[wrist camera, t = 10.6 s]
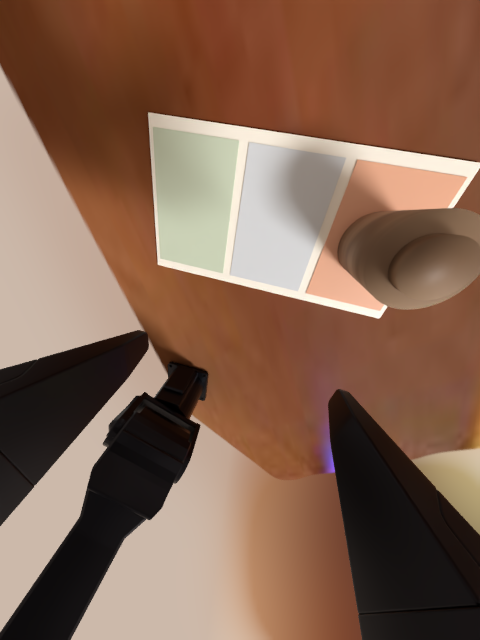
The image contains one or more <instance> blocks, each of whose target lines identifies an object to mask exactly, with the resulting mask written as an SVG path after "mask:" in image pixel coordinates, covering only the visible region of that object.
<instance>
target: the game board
mask: <svg viewBox="0 0 480 640" xmlns="http://www.w3.org/2000/svg"><path fill="white" fill-rule="evenodd" d="M148 120H149V135H150V151H151V166H152V181H153V197H154V212H155V227H156V243H157V258H158V265H161V266H165V267H169V268H173V269H177V270H181V271H186V272H190V273H194V274H198V275H202V276H206V277H210V278H214V279H218V280H223V281H227V282H231V283H235V284H239V285H243V286H247V287H251V288H256V289H260V290H264V291H268V292H272V293H276V294H280V295H284V296H288V297H293V298H297V299H301V300H305V301H309V302H313V303H317V304H321V305H325V306H330V307H334V308H338V309H342V310H346V311H350V312H354V313H358V314H363V315H367V316H371V317H375V318H380V317H381V315H382V314H383V312H384V311H385V309H386V308H387V306H386V305H384V304H382V303H380V302H379V301H378V300H377V299H375V298H374V297H373V296H372V295H371V294H370V293H369V292H368V291H367V290H366V289H365V288H364V287H363V286H362V285H361V284H360V283H359V282H357V281H356V280H355V279H354V278H353V277H352V276H351V275H350V274H349V273H348V272H347V271H346V270H345V269H344V268H343V267H342V266H341V264H340V262H339V260H338V253H337V251H338V245H339V242H340V239H341V237H342V235H343V234H344V232H345V231H346V230H347V228H348V227H349V226H350V225H351V224H352V223H354V222H355V221H356V220H358V219H359V218H361V217H363V216H365V215H367V214H370V213H373V212H379V211H400V210H420V209H441V208H453V207H454V206H455V204H456V203H457V201H458V200H459V198H460V197H461V195H462V194H463V192H464V191H465V189H466V188H467V186H468V185H469V183H470V182H471V180H472V179H473V177H474V176H475V174H476V173H477V171H478V170H479V168H480V163H478V162H471V161H465V160H458V159H451V158H445V157H438V156H432V155H425V154H419V153H412V152H405V151H399V150H392V149H386V148H379V147H373V146H366V145H359V144H353V143H346V142H340V141H333V140H327V139H320V138H313V137H307V136H300V135H294V134H287V133H281V132H274V131H267V130H261V129H254V128H248V127H241V126H235V125H228V124H221V123H215V122H208V121H202V120H195V119H189V118H182V117H175V116H169V115H162V114H156V113H149V112H148Z"/></svg>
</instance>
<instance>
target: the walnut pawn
mask: <svg viewBox="0 0 480 640" xmlns="http://www.w3.org/2000/svg"><path fill="white" fill-rule="evenodd" d="M337 253H338V260H339V262H340V264H341V266H342V267H343V268H344V269H345V270H346V271H347V272H348V273H349V274H350V275H351V276H352V277H353V278H354V279H355V280H356V281H357V282H359V283H360V284H361V285H362V286H363V287H364V288H365V289H366V290H367V291H368V292H369V293H370V294H371V295H372V296H373V297H374V298H375V299H377V300H378V301H379V302H380V303H382V304H384V305H386V306H389V307H392V308H396V309H405V310H406V309H420V308H425V307H429V306H432V305H435V304H438V303H440V302H443V301H445V300H447V299H449V298H451V297H453V296H454V295H456V294H458V293H459V292H460V291H462V290H463V289H465V288H466V287H467V286H468V285H469V284H471V283H472V282H473V281H474V280H475V279H476V278H477V276H478V275H479V274H480V215H479V214H477V213H474V212H472V211H469V210H466V209H459V208H441V209H420V210H400V211H379V212H373V213H370V214H367V215H365V216H363V217H361V218H359V219H358V220H356V221H355V222H354V223H352V224H351V225H350V226H349V227H348V228H347V230H346V231H345V232H344V234H343V235H342V237H341V239H340V242H339V245H338V251H337Z"/></svg>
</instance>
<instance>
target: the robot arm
mask: <svg viewBox="0 0 480 640" xmlns="http://www.w3.org/2000/svg"><path fill="white" fill-rule="evenodd" d="M148 347H149V342H148V334H147V333H146V332H144V331H140V330H137V331H134V332H130V333H127V334H123V335H120V336H116V337H113V338H109V339H106V340H102V341H99V342H95V343H92V344H89V345H85V346H81V347H78V348H74V349H71V350H67V351H64V352H61V353H57V354H53V355H50V356H46V357H43V358H39V359H38V360H32V361H29V362H25V363H22V364H19V365H15V366H12V367H7V368H4V369H0V526H1V525H2V524H3V522H4V521H5V520H6V519H7V518H8V517H9V515H10V514H11V513H12V512H13V511H14V510H15V508H16V507H17V506H18V505H19V504H20V503H21V501H22V500H23V499H24V498H25V497H26V496H27V495H28V493H29V492H30V491H31V490H32V489H33V488H34V485H36V484H37V483H38V481H39V480H40V479H41V478H42V477H43V476H44V475H45V473H46V472H47V471H48V470H49V469H50V468H51V466H52V465H53V464H54V463H55V462H56V461H57V459H58V458H59V457H60V456H61V455H62V454H63V453H64V451H65V450H66V449H67V448H68V447H69V445H70V444H71V443H72V442H73V441H74V440H75V439H76V438H77V436H78V435H79V434H80V433H81V432H82V430H83V429H84V428H85V427H86V426H87V425H88V424H89V422H90V421H91V420H92V419H93V418H94V417H95V415H96V414H97V413H98V412H99V411H100V410H101V409H102V407H103V406H104V405H105V404H106V403H107V402H108V400H109V399H110V398H111V397H112V396H113V395H114V393H115V392H116V391H117V390H118V389H119V388H120V386H121V385H122V384H123V383H124V382H125V381H126V379H127V378H128V377H129V376H130V374H131V373H132V372H133V370H134V369H135V367H136V366H137V364H138V363H139V362H140V360H141V359H142V357H143V356H144V354H145V353H146V352H147V350H148ZM207 383H208V373H207V372H204V371H201V370H198V369H194V368H191V367H188V366H184V365H181V364H178V363H174V362H169V363H168V379H167V381H166V382H165V383H164V385H163V386H162V387H161V389H160V390H159V392H158V393H157V394H156V396H155V397H154V398H153V397H151V396H149V395H148V394H147V393H146V392H144V393H143V394H142V395H141V396H136V397H135V398H134V399H133V400H132V401H131V402H130V404H129V405H128V406H127V407H126V408H125V409H124V410H123V411H122V412H121V413H120V414H119V415H118V416H117V417H116V418H115V419H114V420H113V421H112V422H111V423H110V424H109V433H108V434H107V438H106V439H105V441H104V442H103V445H104V446H106V447H107V449H106V450H105V451H104V453H103V454H102V456H101V457H100V458H99V459H98V461H97V462H96V463H95V465H94V466H93V469H92V471H91V475H90V479H89V483H88V486H87V491H86V495H85V499H84V503H83V507H82V511H81V515H80V517H79V519H78V520H77V522H76V523H75V525H74V526H73V528H72V529H71V531H70V532H69V534H68V535H67V536H66V538H65V540H64V541H63V542H62V544H61V545H60V547H59V548H58V549H57V551H56V553H55V554H54V555H53V557H52V558H51V560H50V561H49V563H48V564H47V565H46V567H45V568H44V570H43V571H42V573H41V574H40V576H39V577H38V579H37V580H36V581H35V583H34V584H33V586H32V587H31V589H30V590H29V592H28V593H27V595H26V596H25V597H24V599H23V600H22V602H21V603H20V605H19V606H18V608H17V609H16V610H15V612H14V613H13V615H12V616H11V618H10V619H9V621H8V622H7V623H6V625H5V626H4V628H3V629H2V631H1V632H0V640H71V638H72V636H73V634H74V632H75V630H76V628H77V626H78V625H79V623H80V621H81V619H82V617H83V615H84V613H85V612H86V610H87V607H88V605H89V604H90V602H91V600H92V598H93V596H94V594H95V593H96V591H97V589H98V587H99V585H100V583H101V581H102V580H103V578H104V576H105V574H106V572H107V570H108V568H109V566H110V565H111V563H112V561H113V559H114V557H115V555H116V553H117V551H118V549H119V548H120V546H121V544H122V542H123V540H124V539H125V538H126V537H127V536H128V535H129V534H130V533H131V532H133V531H134V530H135V529H136V528H137V527H138V526H139V525H140V524H141V523H143V522H144V521H145V520H146V519H148V520H150V519H152V518H153V517H154V516H155V515H156V514H157V512H158V511H159V510H160V509H161V508H162V506H163V504H164V501H165V499H166V497H167V495H168V493H169V491H170V489H171V487H172V485H173V483H177V482H178V481H179V479H180V478H181V476H182V475H183V473H184V471H185V469H186V467H187V465H188V463H189V461H190V458H191V456H192V453H193V449H194V446H195V442H196V439H197V435H198V432H199V429H200V424H198V423H197V424H196V423H195V422H193V421H191V420H190V417H191V415H192V413H193V411H194V408H195V406H196V404H197V402H198V400H202V401H204V400H205V398H206V392H207ZM328 410H329V428H330V442H331V449H332V455H333V461H334V467H335V474H336V479H337V486H338V492H339V498H340V504H341V511H342V517H343V522H344V529H345V535H346V541H347V547H348V554H349V560H350V566H351V572H352V578H353V585H354V590H355V596H356V603H357V609H358V613H359V615H358V616H359V623H360V629H361V635H362V640H480V535H479V534H478V533H477V532H476V531H475V530H474V529H473V527H472V526H470V524H469V523H468V522H467V521H466V520H465V519H464V518H463V517H462V516H461V515H460V514H459V512H458V511H457V510H456V509H455V508H454V507H453V506H452V505H451V504H450V503H449V502H448V500H447V499H446V498H445V497H444V496H443V495H442V494H441V493H440V492H439V491H438V490H436V488H435V486H434V485H433V484H432V483H431V482H430V481H429V480H428V479H427V477H426V476H425V475H424V474H423V473H422V472H421V471H420V470H419V469H418V468H417V467H416V465H415V464H414V463H413V462H412V461H411V460H410V459H409V458H408V457H407V456H406V454H405V453H404V452H403V451H402V450H401V449H400V448H399V447H398V446H397V445H396V443H395V442H394V441H393V440H392V439H391V438H390V437H389V436H388V435H387V434H386V432H385V431H384V430H383V429H382V428H381V427H380V426H379V425H378V424H377V423H376V421H375V420H374V419H373V418H372V417H371V416H370V415H369V414H368V413H367V412H366V411H365V409H364V408H363V407H362V406H361V405H360V404H359V403H358V402H357V401H356V400H355V398H354V397H353V396H352V395H351V394H350V393H349V392H347V391H344V390H341V389H338V390H336V391H335V393H334V394H333V396H332V397H331V399H330V400H329V403H328Z"/></svg>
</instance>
